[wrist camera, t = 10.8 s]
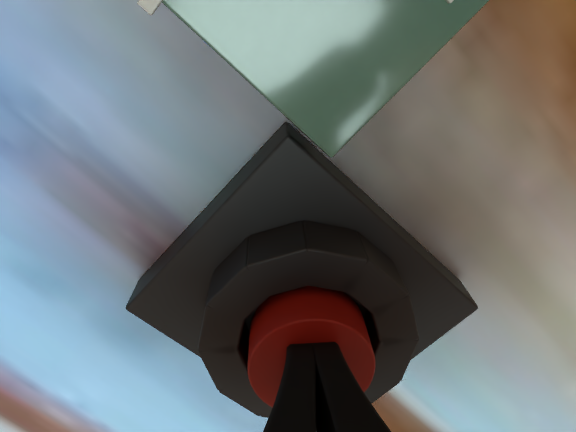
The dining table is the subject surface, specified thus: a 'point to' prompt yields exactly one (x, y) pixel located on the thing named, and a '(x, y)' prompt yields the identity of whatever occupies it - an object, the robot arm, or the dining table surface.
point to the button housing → (296, 268)
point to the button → (306, 335)
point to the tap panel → (325, 52)
